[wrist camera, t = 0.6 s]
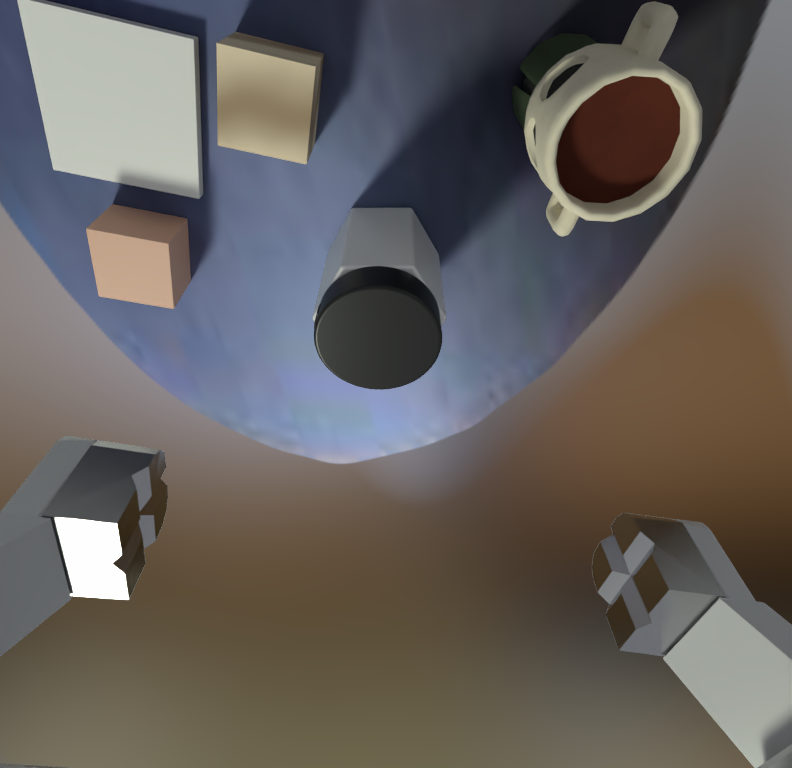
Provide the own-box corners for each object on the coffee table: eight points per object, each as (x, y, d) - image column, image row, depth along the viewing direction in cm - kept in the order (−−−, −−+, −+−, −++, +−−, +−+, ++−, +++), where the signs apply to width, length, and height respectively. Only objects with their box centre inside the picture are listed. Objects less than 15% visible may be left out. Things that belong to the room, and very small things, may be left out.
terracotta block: (113, 203, 39) (86, 228, 36) (188, 217, 40) (168, 243, 37) (122, 267, 43) (98, 296, 40) (191, 279, 44) (173, 308, 40)
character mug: (544, -33, 30) (614, -17, 20) (654, 6, 31) (771, 38, 21) (478, 157, 37) (506, 238, 27) (569, 183, 38) (628, 270, 28)
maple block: (236, 31, 32) (216, 42, 29) (324, 52, 33) (315, 66, 30) (235, 125, 36) (217, 145, 32) (315, 142, 37) (306, 164, 33)
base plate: (26, -5, 31) (16, -3, 30) (198, 36, 32) (193, 39, 32) (60, 164, 37) (53, 169, 37) (203, 193, 39) (199, 198, 38)
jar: (308, 233, 41) (281, 318, 32) (398, 179, 38) (397, 256, 29) (369, 316, 46) (361, 411, 37) (452, 274, 43) (466, 365, 34)
